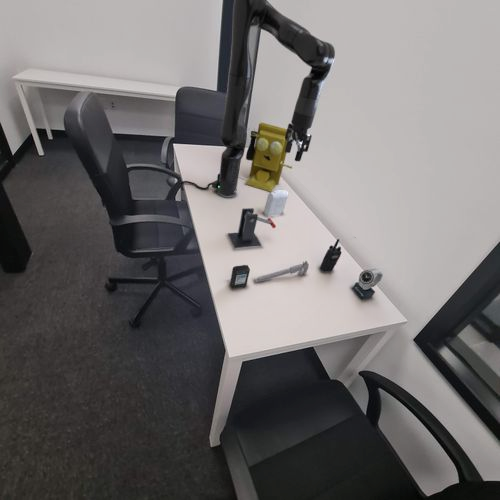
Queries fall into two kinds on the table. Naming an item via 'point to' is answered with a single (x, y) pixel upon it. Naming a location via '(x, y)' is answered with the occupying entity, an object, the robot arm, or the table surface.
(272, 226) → the lever
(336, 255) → the two-way radio
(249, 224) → the stand
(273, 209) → the photo printer
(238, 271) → the ink cartridge
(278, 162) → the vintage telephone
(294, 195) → the table surface
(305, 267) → the caliper
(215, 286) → the table surface
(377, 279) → the watch
